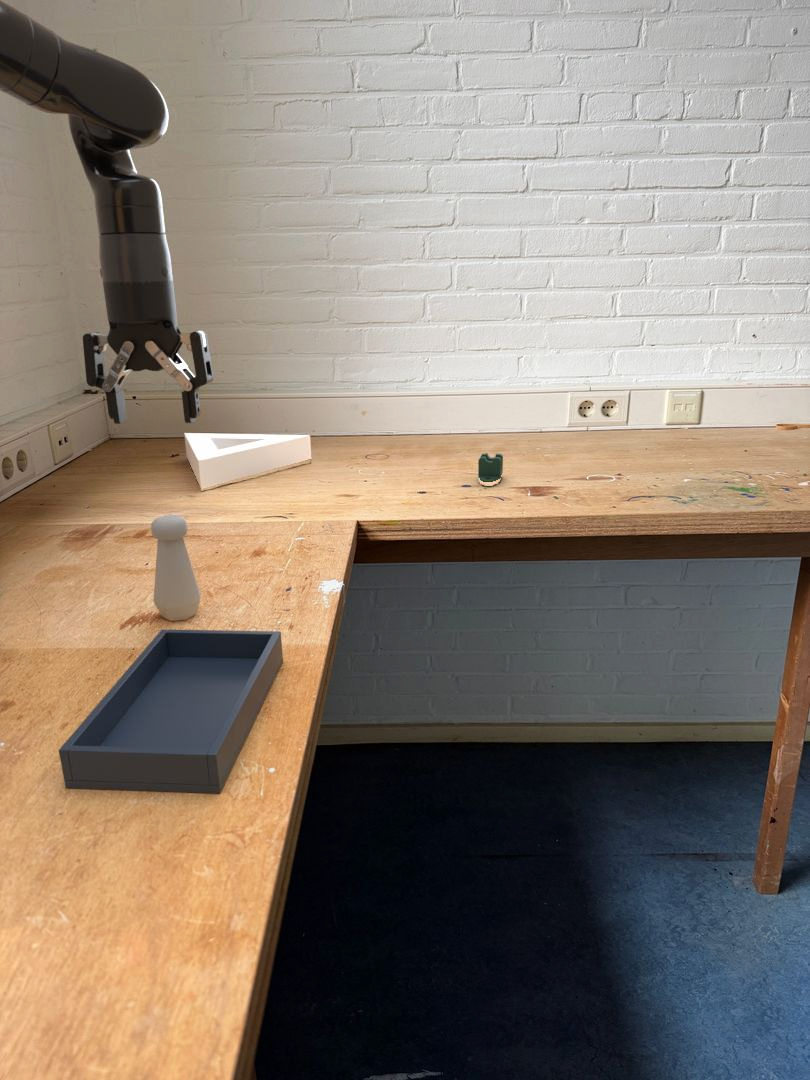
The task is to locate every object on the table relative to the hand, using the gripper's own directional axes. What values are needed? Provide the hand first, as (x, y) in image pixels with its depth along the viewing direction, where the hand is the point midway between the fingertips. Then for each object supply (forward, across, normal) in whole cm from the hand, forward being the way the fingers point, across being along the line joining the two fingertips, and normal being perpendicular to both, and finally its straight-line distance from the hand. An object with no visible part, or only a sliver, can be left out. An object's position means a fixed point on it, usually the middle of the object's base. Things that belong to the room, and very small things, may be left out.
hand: (155, 422), depth 94 cm
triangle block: (+25, +15, -71) cm, 77 cm away
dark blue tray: (+25, -10, +24) cm, 36 cm away
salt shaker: (+25, 0, 0) cm, 25 cm away
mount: (+25, -41, -68) cm, 83 cm away
